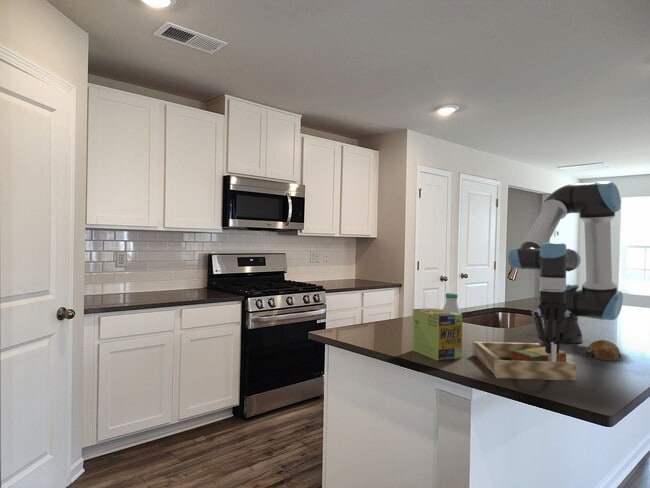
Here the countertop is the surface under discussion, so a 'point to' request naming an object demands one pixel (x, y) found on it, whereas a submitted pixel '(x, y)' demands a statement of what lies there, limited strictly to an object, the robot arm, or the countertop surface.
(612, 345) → the bread roll
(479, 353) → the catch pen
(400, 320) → the countertop surface
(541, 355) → the carton
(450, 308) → the milk bottle
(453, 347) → the protein box
